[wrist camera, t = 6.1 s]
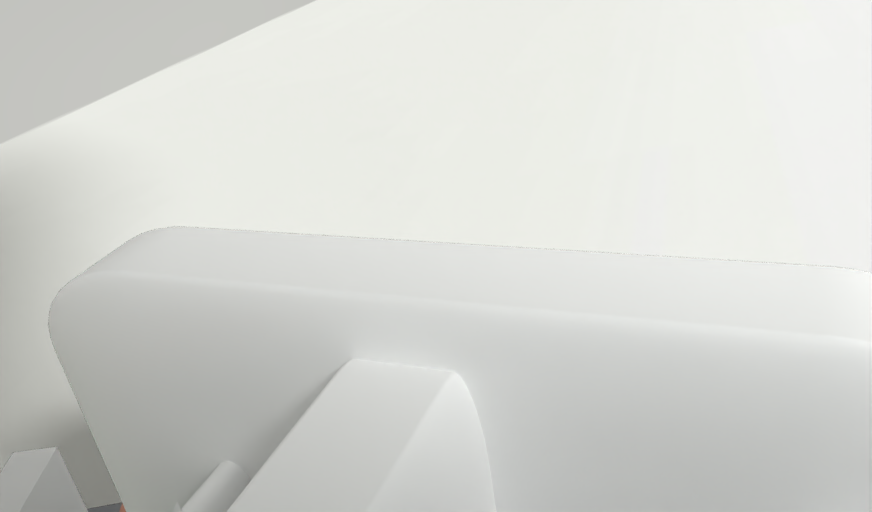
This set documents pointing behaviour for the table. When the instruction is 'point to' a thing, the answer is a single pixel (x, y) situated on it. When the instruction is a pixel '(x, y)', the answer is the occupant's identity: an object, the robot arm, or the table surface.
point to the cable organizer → (466, 377)
